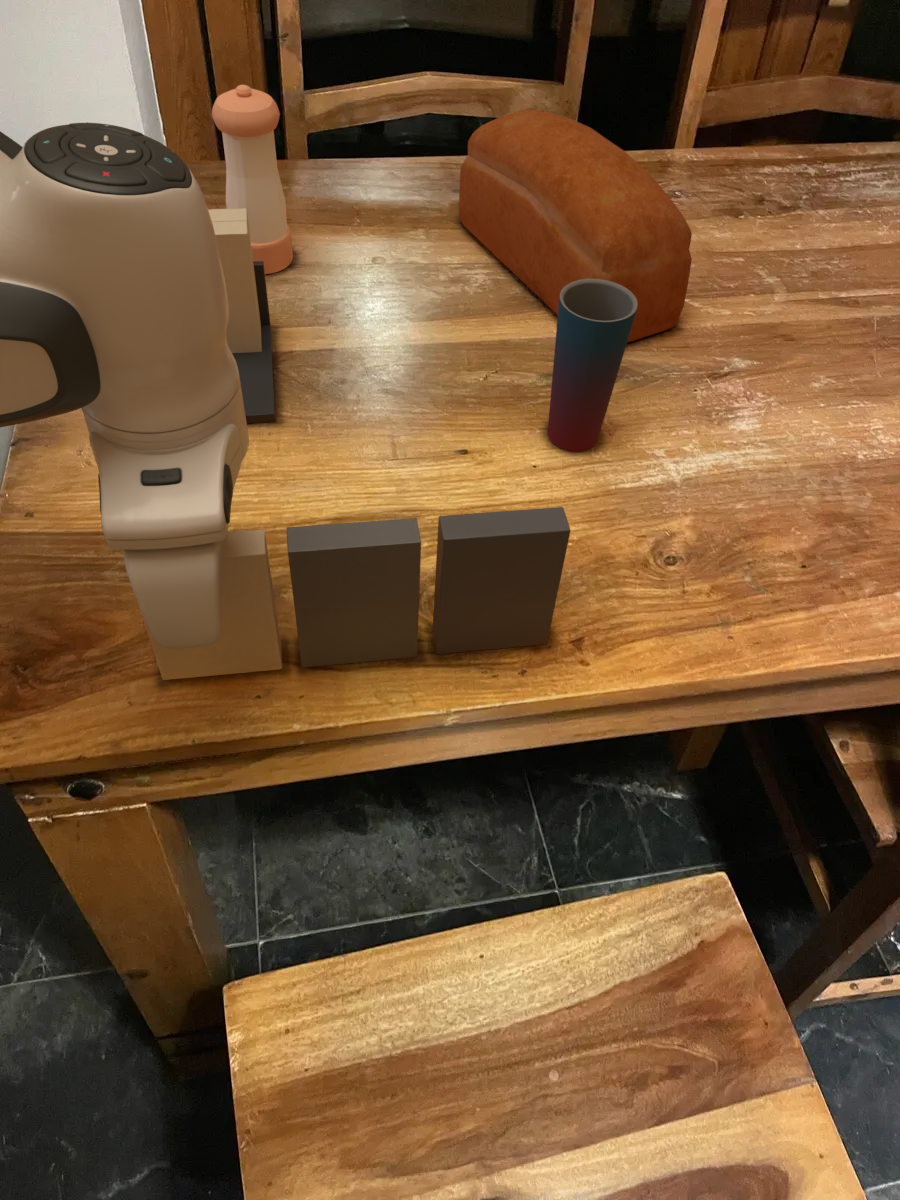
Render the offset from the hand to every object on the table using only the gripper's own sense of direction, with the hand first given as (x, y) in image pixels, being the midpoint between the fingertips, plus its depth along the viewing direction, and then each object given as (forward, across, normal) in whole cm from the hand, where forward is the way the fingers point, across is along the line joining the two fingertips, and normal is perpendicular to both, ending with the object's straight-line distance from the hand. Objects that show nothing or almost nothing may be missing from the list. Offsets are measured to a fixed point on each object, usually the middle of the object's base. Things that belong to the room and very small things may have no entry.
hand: (205, 581), depth 65 cm
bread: (+10, -55, +40) cm, 69 cm away
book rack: (+9, -37, -1) cm, 38 cm away
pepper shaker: (+10, -60, +4) cm, 61 cm away
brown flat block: (+9, 0, 0) cm, 9 cm away
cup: (+10, -24, +34) cm, 43 cm away
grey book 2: (+10, 0, +21) cm, 23 cm away
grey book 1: (+9, 0, +10) cm, 14 cm away
